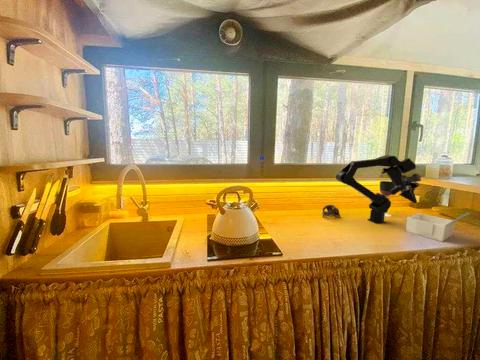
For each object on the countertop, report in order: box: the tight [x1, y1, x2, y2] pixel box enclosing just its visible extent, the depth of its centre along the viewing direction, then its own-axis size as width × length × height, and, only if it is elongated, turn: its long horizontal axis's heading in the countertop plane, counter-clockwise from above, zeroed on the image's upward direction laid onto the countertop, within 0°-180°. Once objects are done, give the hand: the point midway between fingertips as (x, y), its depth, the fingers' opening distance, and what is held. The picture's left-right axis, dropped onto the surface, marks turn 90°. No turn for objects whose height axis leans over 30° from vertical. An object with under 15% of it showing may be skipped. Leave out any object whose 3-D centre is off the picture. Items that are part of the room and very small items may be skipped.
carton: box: [405, 212, 456, 243], centre depth 112 cm, size 15×15×7 cm
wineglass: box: [379, 180, 396, 217], centre depth 139 cm, size 8×9×20 cm
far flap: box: [445, 211, 470, 226], centre depth 103 cm, size 7×12×1 cm
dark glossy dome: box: [321, 204, 341, 219], centre depth 135 cm, size 12×10×8 cm
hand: (416, 202), depth 116 cm, fingers closed
